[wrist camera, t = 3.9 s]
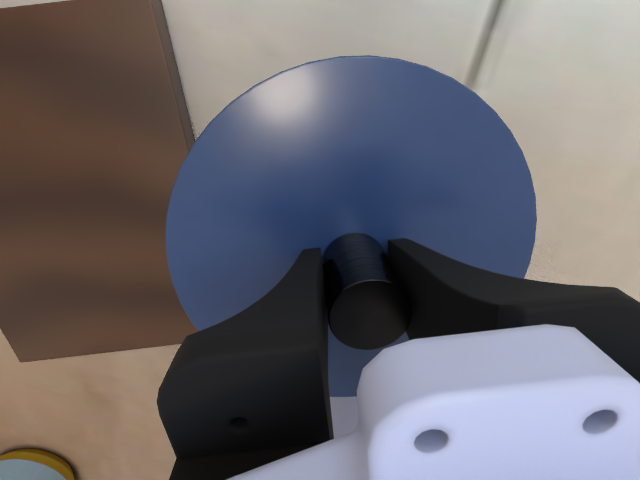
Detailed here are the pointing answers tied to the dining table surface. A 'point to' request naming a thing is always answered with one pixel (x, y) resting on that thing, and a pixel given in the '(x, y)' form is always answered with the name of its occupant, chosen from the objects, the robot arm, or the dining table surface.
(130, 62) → the board
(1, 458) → the bottle
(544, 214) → the dining table surface
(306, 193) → the lid
